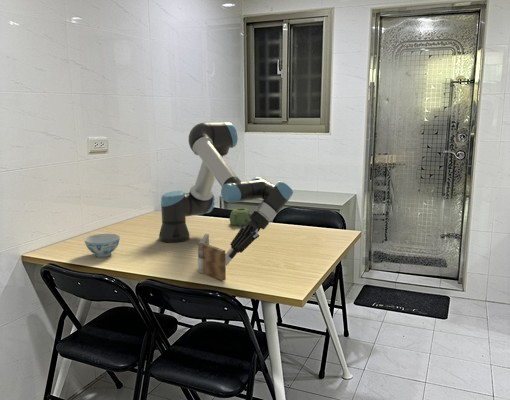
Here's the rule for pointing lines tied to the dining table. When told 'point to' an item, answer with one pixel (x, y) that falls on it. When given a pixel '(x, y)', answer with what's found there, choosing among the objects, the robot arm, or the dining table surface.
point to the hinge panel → (200, 260)
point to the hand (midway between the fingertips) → (223, 263)
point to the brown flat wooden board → (212, 260)
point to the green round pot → (240, 217)
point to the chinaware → (102, 244)
